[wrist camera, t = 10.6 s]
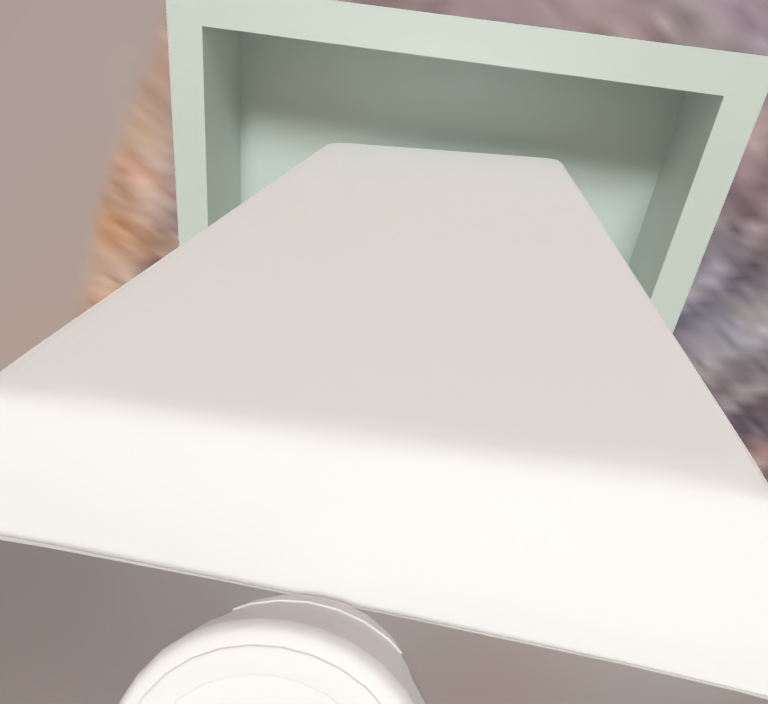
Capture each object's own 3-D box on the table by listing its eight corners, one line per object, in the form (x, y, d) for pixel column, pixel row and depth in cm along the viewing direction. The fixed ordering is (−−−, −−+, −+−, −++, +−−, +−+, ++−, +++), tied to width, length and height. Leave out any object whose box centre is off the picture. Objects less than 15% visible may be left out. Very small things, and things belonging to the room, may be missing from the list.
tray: (722, 54, 18) (780, 58, 15) (593, 423, 25) (612, 485, 21) (221, -11, 19) (164, -22, 16) (226, 359, 26) (188, 410, 23)
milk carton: (523, 364, 21) (682, 1586, 4) (327, 342, 22) (-164, 1320, 5) (561, 157, 18) (1799, 1997, 1) (328, 140, 18) (-1069, 1075, 2)
